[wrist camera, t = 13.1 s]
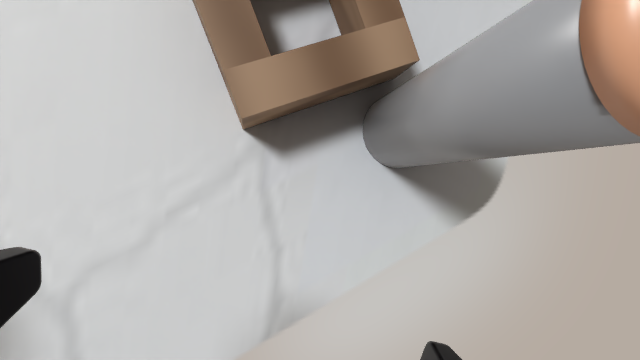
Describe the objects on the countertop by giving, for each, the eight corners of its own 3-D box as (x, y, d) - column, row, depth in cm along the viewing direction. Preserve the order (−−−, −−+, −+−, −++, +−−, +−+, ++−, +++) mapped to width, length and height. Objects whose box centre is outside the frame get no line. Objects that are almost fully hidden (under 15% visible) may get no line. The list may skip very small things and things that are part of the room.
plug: (365, 172, 19) (648, 144, 6) (358, 96, 19) (625, -118, 6) (433, 165, 20) (810, 127, 7) (426, 93, 20) (792, -94, 7)
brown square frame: (243, 129, 18) (241, 118, 15) (175, -44, 17) (159, -91, 14) (394, 78, 20) (419, 59, 17) (339, -78, 19) (356, -125, 16)
